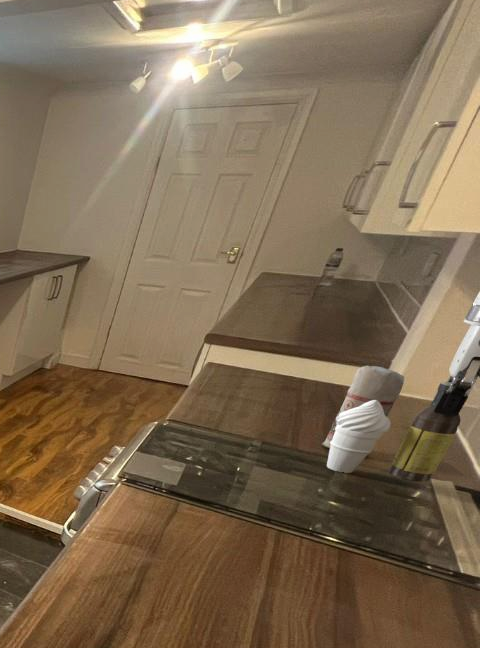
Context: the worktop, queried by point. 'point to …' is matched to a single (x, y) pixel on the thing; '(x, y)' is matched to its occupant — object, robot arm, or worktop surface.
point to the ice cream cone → (356, 435)
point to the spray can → (370, 391)
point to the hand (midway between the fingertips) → (444, 410)
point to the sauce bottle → (425, 442)
